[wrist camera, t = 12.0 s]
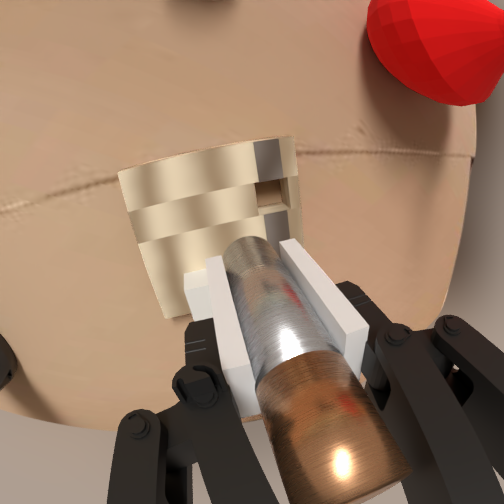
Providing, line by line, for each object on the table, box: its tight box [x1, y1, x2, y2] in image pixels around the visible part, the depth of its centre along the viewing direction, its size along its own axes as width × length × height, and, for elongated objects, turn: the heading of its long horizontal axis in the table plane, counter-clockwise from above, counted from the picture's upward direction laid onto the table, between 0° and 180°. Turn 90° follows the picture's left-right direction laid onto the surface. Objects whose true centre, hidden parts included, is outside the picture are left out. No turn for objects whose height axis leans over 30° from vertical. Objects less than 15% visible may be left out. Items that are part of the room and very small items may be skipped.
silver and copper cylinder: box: [222, 236, 413, 504], centre depth 9 cm, size 3×3×12 cm
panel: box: [118, 136, 304, 319], centre depth 31 cm, size 18×18×3 cm
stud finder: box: [184, 269, 213, 322], centre depth 30 cm, size 8×5×4 cm, turn 98°
